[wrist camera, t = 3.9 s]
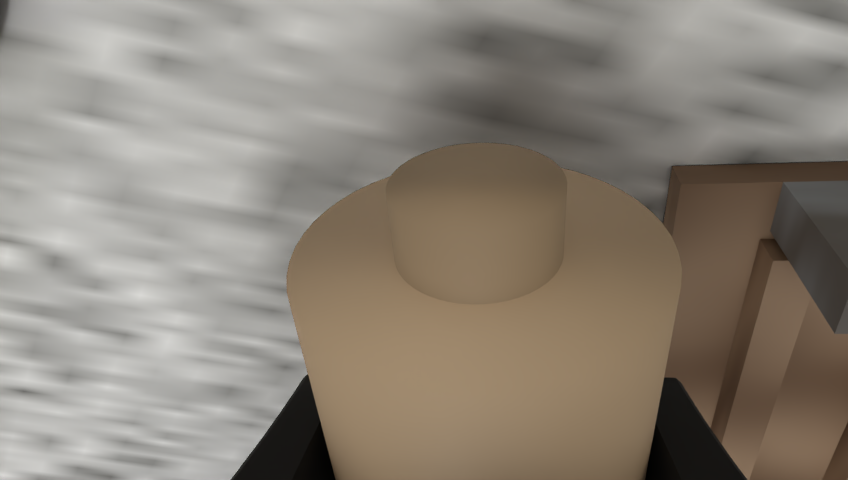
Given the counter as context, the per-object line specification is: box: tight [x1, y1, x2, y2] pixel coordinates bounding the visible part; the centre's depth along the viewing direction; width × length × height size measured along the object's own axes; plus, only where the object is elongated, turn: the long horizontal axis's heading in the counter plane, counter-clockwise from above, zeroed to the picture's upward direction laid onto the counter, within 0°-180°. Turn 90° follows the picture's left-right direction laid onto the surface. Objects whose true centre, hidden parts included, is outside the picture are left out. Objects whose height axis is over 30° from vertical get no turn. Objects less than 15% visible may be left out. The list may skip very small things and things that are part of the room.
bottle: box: [287, 143, 682, 480], centre depth 11 cm, size 10×5×5 cm, turn 4°
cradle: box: [663, 162, 848, 480], centre depth 19 cm, size 16×10×5 cm, turn 4°
